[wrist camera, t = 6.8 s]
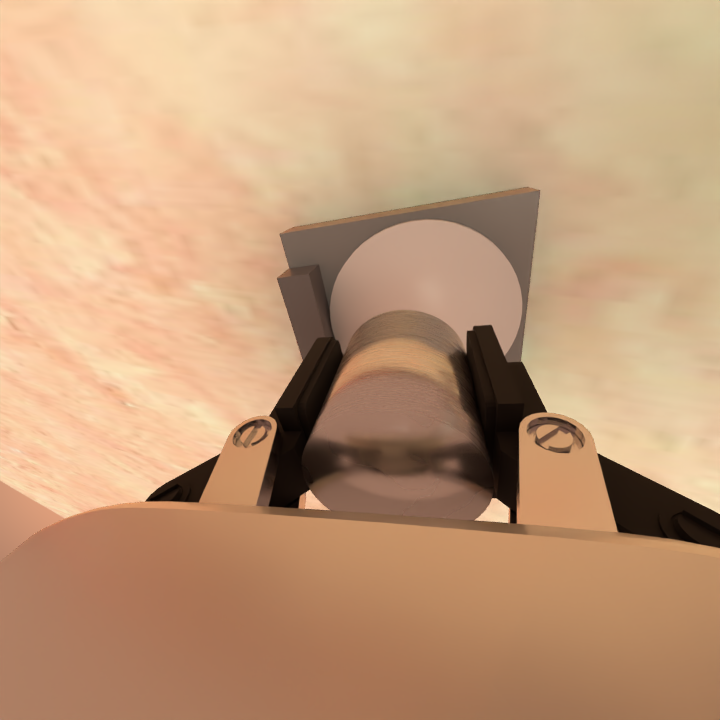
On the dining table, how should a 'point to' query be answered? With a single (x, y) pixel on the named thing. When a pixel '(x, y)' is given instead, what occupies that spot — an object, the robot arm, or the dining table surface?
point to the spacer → (401, 425)
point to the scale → (415, 268)
